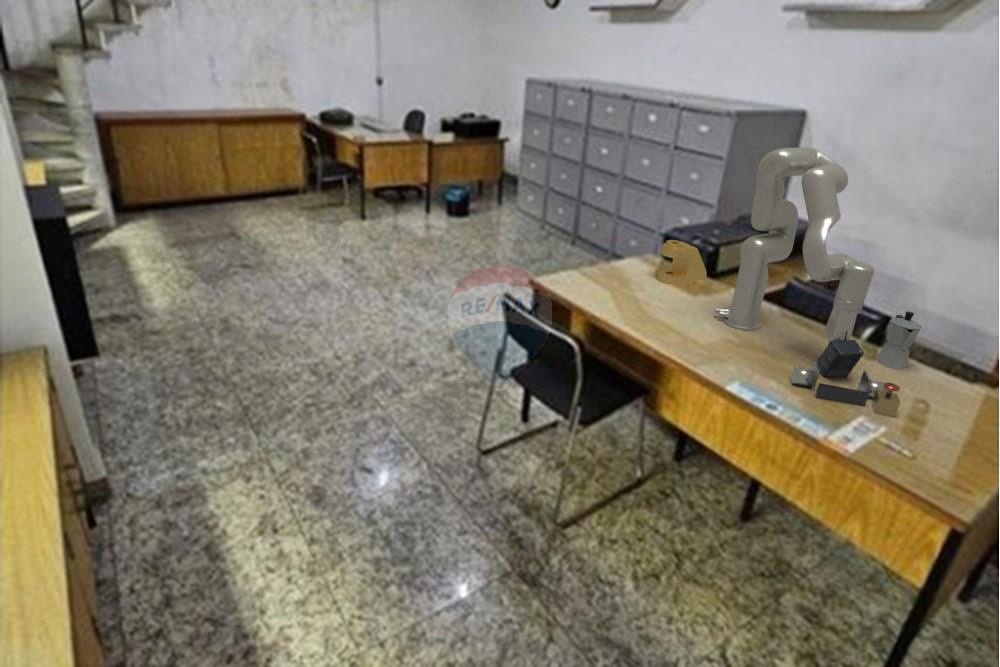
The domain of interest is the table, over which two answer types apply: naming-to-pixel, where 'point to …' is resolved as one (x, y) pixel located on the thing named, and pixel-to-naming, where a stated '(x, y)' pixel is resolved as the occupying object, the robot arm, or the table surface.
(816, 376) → the dark grey bracket shape
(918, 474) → the table surface
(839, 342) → the box
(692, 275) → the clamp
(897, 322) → the coffee maker
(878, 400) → the valve
